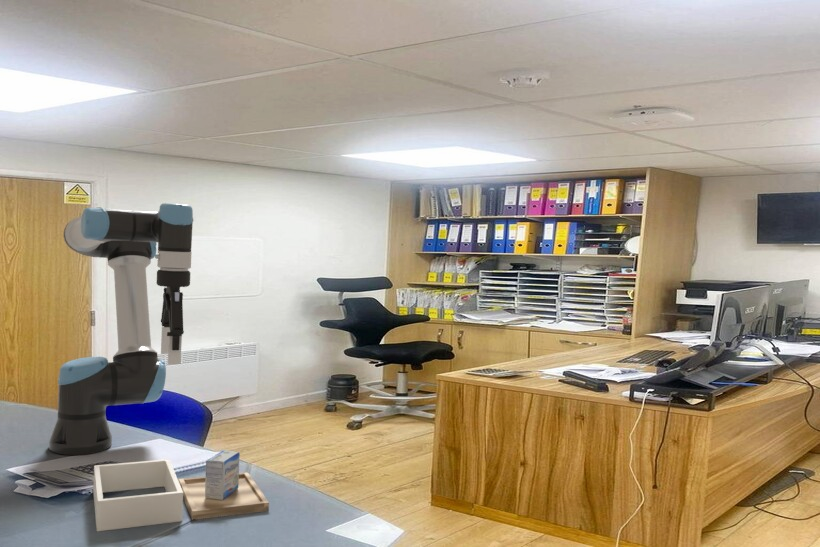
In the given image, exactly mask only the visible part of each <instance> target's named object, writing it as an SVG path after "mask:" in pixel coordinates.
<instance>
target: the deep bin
mask: <svg viewBox="0 0 820 547" xmlns="http://www.w3.org/2000/svg"><path fill="white" fill-rule="evenodd" d="M92 487H93V488H92V489H93V490H92V491H93V503H94V504H93V505H94V513H95V514H94V516H95V526H96V527H95V528H96V532H103V531H111V530H120V529H129V528H137V527H145V526H152V525H153V526H154V525H160V524H161V525H162V524H163V525H164V524H168V523H169V524H171V523H177V522H178V523H179V522H182V521H183V508H184V506H183V504H184V499H183V491H182V488H181V486H180V484H179V478H178V477H177V475H176V472H175V469H174V467H173V464H172V462H171V460H170V458H168V459H167V458H165V459H156V460H145V461H142V460H141V461H132V462H122V463H121V462H120V463H107V464H98V465H93V486H92ZM160 487H161V488H162V487H164V489H165V492H158V493H147V494H140V495H128V496H119V497H118V496H117V497H110V498H104V494H103V493H111V492H122V491H131V490H133V491H134V490H143V489H152V488H160Z"/></svg>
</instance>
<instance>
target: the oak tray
mask: <svg viewBox="0 0 820 547" xmlns="http://www.w3.org/2000/svg"><path fill="white" fill-rule="evenodd" d="M205 476H206V475H204V476H196V477H187V478H186V477H185V478H184V477H183V478H178V481H179V484H180V486H181V488H182V491H183V502H184V504H185V505H186V509H187V508H188V509H187V511H188V514H189V513H190V514H189V516H190V518H191V520H192V521H194V520H193V519H196V520H202V519H203V518H204V519H210V518H211V517H212V518H219V517H220V516H221V517H227V516H226V515H229V516H235V515H236V514H237V515H245V514H251V513H252V514H253V513H261V512H268V511H270V510H269V508H270V503H269V502H270V501H268V499H267V497H266V496H265V495H264V493H263V492H262V490H261V488H259V486H258V484H257V483H256V482H255V480H254V479H253V478H252V476H251V475H250V474H249V472H239V483H238V489H237V490H235V491H234V492H233V493H231V494H230V495H229V496H228V497H227V498H225V499H224V500H216V499H209V498H205ZM218 516H219V517H218ZM204 519H203V520H204Z"/></svg>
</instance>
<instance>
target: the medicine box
mask: <svg viewBox="0 0 820 547" xmlns="http://www.w3.org/2000/svg"><path fill="white" fill-rule="evenodd" d="M239 473H240V452H239V451H233V450H222V451H220V452H218V453H216V454H215V455H214V456H213V455H212V456H211V457H210V458H209V459H207V460H206V461H205V475H204V476H205V498H209V499H216V500H224V499H225V498H227V497H228V496H229V495H230V494H231V493H233V492H234V491H235V490H237V489H238V483H239Z"/></svg>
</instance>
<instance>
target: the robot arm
mask: <svg viewBox="0 0 820 547" xmlns="http://www.w3.org/2000/svg"><path fill="white" fill-rule="evenodd" d="M158 210H159V211H152V210H135V209H118V208H106V207H105V208H104V207H85V208H84V209H83V210H82V213H81V216H78V217H75V218H73V219H72V220H70V221H69V222H68V223H67V224H66V225H65V227H64V229H63V240H64V242H65V244H66V246H68V247H69V249H71V250H72V251H74V252H75V253H78V254H80V255H82V256H86V257H89V258H90V257H91V258H99V259H101V258H103V259H104V258H106V259H107V265H108V266H109V268H111V269H113V275H114V291H115V292H114V293H115V295H114V296H115V310H116V311H115V312H116V313H115V314H116V331H117V333H116V334H117V345H118V346H117V349H118V350H117V351H116V353H115V354H113V356H112V362H111V361H109V360H108V358H107V357H104V356H89V357H88V356H87V357H80V358H77V359H72V360H70V361H67V362H65V363H64V364H62V365H61V366H60V368H59V371H58V380H57V384H58V390H57V391H58V392H57V395H58V396H57V397H58V398H57V419H56V421H55V424H54V427H53V429H52V433H51V435H50V438H49V440H48V442H49V444H48V448H49V449H48V450H49V451H51V452H52V453H54V454H59V455H67V456H68V455H71V456H74V455H75V456H78V455H89V454H94V453H98V452H103V451H106V450H107V449H109V448H110V447H112V445H113V443H112V442H113V441H112V440H113V439H112V438H113V437H112V436H113V435H112V433H111V430H110V426H109V424H108V420H107V416H106V411H107V410H106V409H107V407H108V406H123V405H133V404H141V405H142V404H144V403H145V404H146V403H152V402H156V401H158V400H159V399H160V398H161V396H162V394H163V392H164V388H165V385H166V378H167V376H166V375H167V367H166V362H165V360H163V359H159V358H158V357H159V356H158V352H157V351H156V350H155V349H154V348H153V347H152V342H151V341H152V340H151V329H150V328H151V326H150V313H149V312H150V311H149V298H148V297H149V296H148V294H149V293H148V283H147V268H148V266H149V265H151V261H152V260H153V259H154V258H155V260H157V267H158V268H159V269H158V270H156V285H157V286H159V287H164V288H163V294H162V297H163V298H162V309H161V310H162V311H161V318H160V322H161V323H160V324H161V326H162V327H161V340H160V341H161V344H160V346H161V347H160V354H161V355H167V356H168V357H167V364H168V365H181V364H182V363H181V361H182V343H183V342H182V341H183V340H182V338H183V335H184V333H185V331H184V318H183V317H184V311H183V310H184V309H183V306H184V305H183V296H184V293H183V291H182V292H181V288H187V287H189V286H190V285H191V272H190V270H189V269H191V268H192V243H193V242H192V241H193V239H192V238H193V222H194V217H193V215H194V213H193V207H192V206H191V205H190V204H180V203H166V202H165V203H161V204H160V206H159V209H158ZM157 253H158V254H157Z"/></svg>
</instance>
